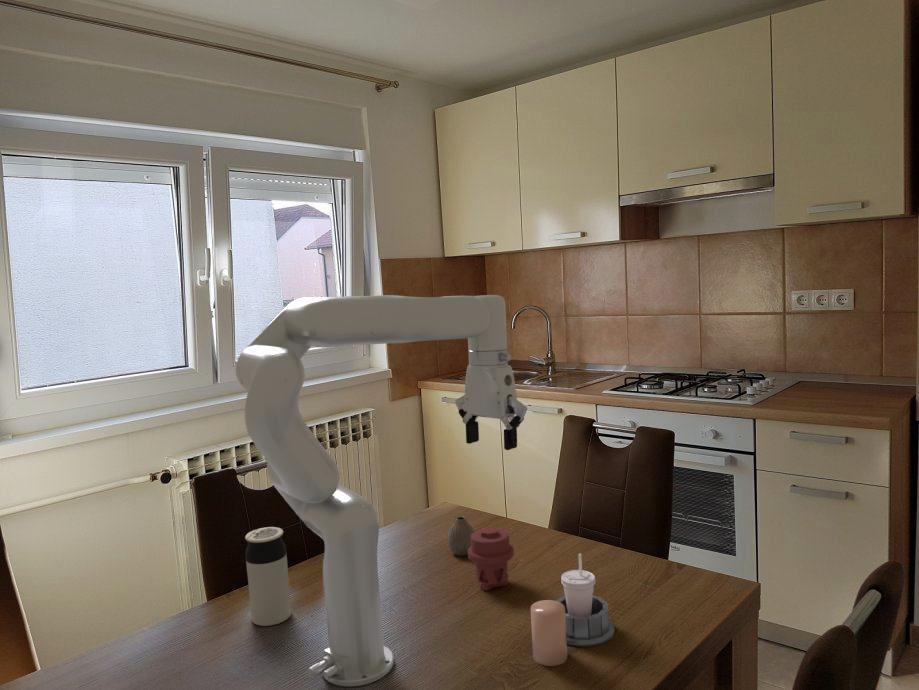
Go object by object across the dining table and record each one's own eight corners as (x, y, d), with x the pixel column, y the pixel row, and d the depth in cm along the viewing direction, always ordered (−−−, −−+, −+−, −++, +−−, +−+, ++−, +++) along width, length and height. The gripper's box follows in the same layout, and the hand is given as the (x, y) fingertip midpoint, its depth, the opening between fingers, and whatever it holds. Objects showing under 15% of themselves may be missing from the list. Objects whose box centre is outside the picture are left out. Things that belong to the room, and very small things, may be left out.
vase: (445, 550, 174) (443, 515, 173) (471, 545, 176) (469, 511, 175) (453, 560, 168) (451, 525, 167) (480, 555, 170) (478, 520, 169)
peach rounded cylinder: (555, 670, 119) (552, 619, 119) (526, 659, 123) (523, 610, 122) (573, 654, 124) (571, 605, 123) (545, 644, 128) (542, 597, 127)
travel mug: (298, 609, 147) (291, 527, 145) (279, 628, 139) (271, 541, 138) (265, 607, 149) (257, 525, 147) (244, 625, 142) (235, 539, 140)
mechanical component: (471, 575, 159) (515, 574, 158) (467, 595, 149) (515, 594, 148) (468, 522, 158) (513, 521, 157) (464, 539, 148) (511, 538, 147)
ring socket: (594, 654, 124) (593, 628, 123) (537, 634, 131) (536, 610, 131) (626, 625, 133) (625, 601, 132) (571, 608, 140) (570, 585, 140)
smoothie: (603, 630, 130) (600, 558, 128) (571, 637, 128) (568, 563, 127) (588, 615, 136) (585, 545, 134) (557, 621, 134) (554, 550, 133)
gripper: (535, 358, 133) (538, 447, 134) (467, 355, 144) (470, 436, 146) (511, 363, 127) (514, 455, 129) (442, 359, 139) (446, 443, 140)
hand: (491, 445), depth 137 cm, fingers open, 9 cm apart
